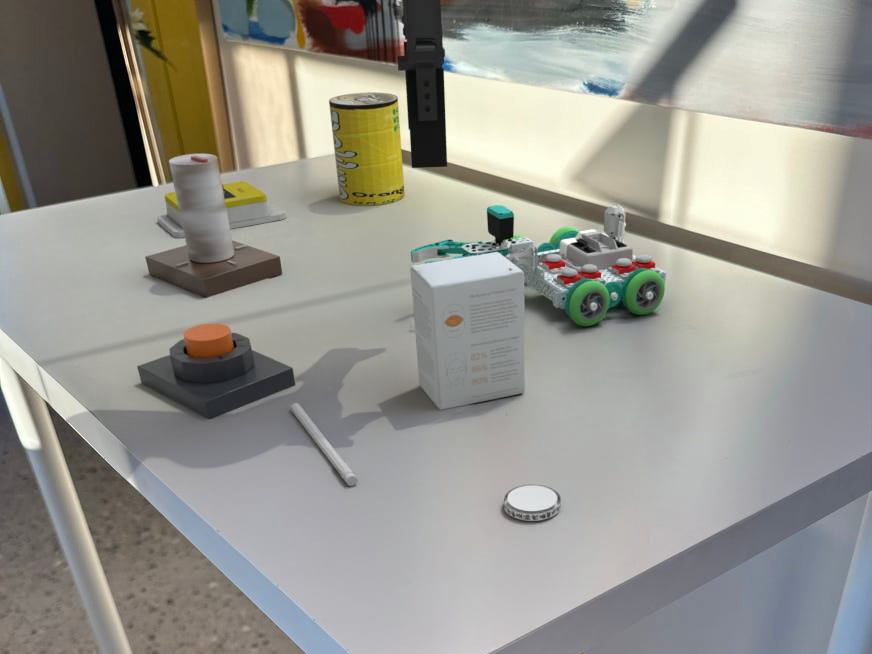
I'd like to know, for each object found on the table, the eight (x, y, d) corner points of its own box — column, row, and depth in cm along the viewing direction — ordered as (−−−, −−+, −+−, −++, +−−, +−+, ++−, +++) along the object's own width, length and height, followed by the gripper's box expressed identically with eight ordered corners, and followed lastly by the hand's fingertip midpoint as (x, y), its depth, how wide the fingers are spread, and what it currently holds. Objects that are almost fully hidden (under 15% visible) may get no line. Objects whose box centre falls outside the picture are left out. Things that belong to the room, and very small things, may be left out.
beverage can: (380, 184, 139) (372, 89, 132) (417, 196, 134) (411, 98, 126) (327, 196, 135) (315, 99, 127) (363, 209, 129) (353, 108, 122)
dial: (180, 256, 109) (159, 157, 102) (218, 246, 112) (199, 148, 105) (205, 266, 106) (184, 164, 100) (243, 254, 109) (225, 154, 102)
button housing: (141, 383, 87) (131, 346, 85) (225, 353, 92) (218, 317, 90) (209, 420, 81) (200, 380, 79) (295, 385, 86) (289, 347, 84)
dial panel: (149, 274, 111) (144, 255, 109) (222, 253, 116) (219, 234, 115) (207, 298, 104) (203, 277, 103) (282, 274, 110) (279, 254, 108)
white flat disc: (550, 525, 66) (550, 517, 66) (495, 514, 68) (495, 507, 67) (567, 496, 69) (568, 489, 69) (515, 487, 70) (515, 479, 70)
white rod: (299, 400, 82) (359, 477, 71) (295, 410, 82) (354, 487, 72) (289, 397, 82) (349, 474, 71) (285, 406, 82) (344, 484, 71)
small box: (501, 370, 87) (499, 250, 81) (526, 394, 83) (526, 270, 76) (417, 386, 85) (408, 263, 78) (438, 412, 81) (430, 285, 74)
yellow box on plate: (148, 185, 125) (258, 168, 130) (156, 221, 128) (264, 202, 133) (168, 201, 118) (283, 182, 124) (176, 238, 121) (288, 218, 127)
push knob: (178, 352, 84) (174, 332, 83) (217, 338, 87) (213, 319, 86) (204, 364, 82) (199, 344, 81) (243, 350, 84) (239, 330, 83)
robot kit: (394, 294, 103) (386, 201, 98) (599, 257, 111) (603, 169, 105) (463, 355, 90) (458, 252, 84) (690, 309, 98) (701, 211, 92)
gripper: (478, -206, 57) (483, 183, 70) (455, -189, 76) (462, 113, 89) (350, -204, 56) (380, 187, 70) (359, -187, 76) (381, 116, 89)
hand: (426, 146), depth 80 cm, fingers open, 13 cm apart
